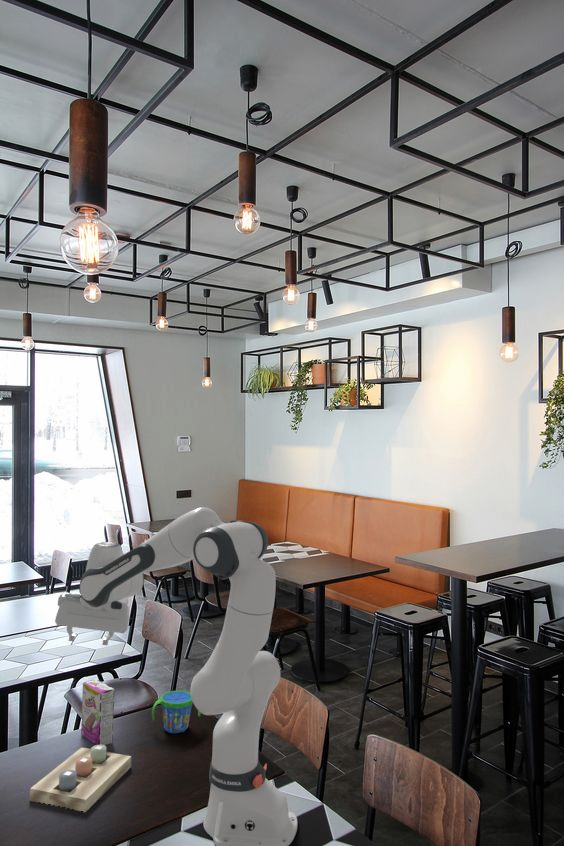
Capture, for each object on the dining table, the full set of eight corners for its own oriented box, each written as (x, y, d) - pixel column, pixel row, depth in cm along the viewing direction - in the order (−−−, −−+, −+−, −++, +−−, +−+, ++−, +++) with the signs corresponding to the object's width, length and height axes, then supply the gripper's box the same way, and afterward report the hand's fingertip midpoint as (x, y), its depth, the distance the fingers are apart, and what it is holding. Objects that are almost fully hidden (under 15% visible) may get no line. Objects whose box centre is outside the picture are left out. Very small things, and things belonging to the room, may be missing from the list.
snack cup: (199, 720, 198) (200, 688, 198) (201, 735, 187) (202, 702, 188) (151, 723, 194) (152, 691, 195) (151, 738, 184) (152, 705, 184)
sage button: (108, 759, 167) (109, 745, 167) (100, 766, 163) (101, 752, 163) (95, 756, 168) (96, 742, 168) (87, 764, 164) (87, 750, 164)
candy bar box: (79, 736, 185) (81, 682, 185) (94, 730, 188) (96, 678, 189) (98, 749, 177) (100, 692, 178) (113, 743, 181) (115, 688, 181)
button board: (130, 767, 167) (131, 756, 167) (85, 812, 146) (85, 799, 146) (81, 758, 171) (81, 747, 172) (29, 800, 150) (30, 788, 150)
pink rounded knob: (94, 771, 160) (95, 757, 160) (85, 780, 156) (86, 765, 156) (81, 769, 161) (81, 754, 162) (71, 777, 157) (72, 762, 158)
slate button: (79, 785, 154) (80, 770, 154) (69, 794, 149) (70, 779, 150) (65, 782, 155) (65, 767, 155) (55, 791, 151) (55, 776, 151)
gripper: (57, 596, 166) (48, 643, 167) (131, 605, 169) (122, 651, 170) (61, 587, 172) (53, 632, 173) (133, 597, 175) (124, 641, 177)
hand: (88, 642), depth 172 cm, fingers open, 8 cm apart
